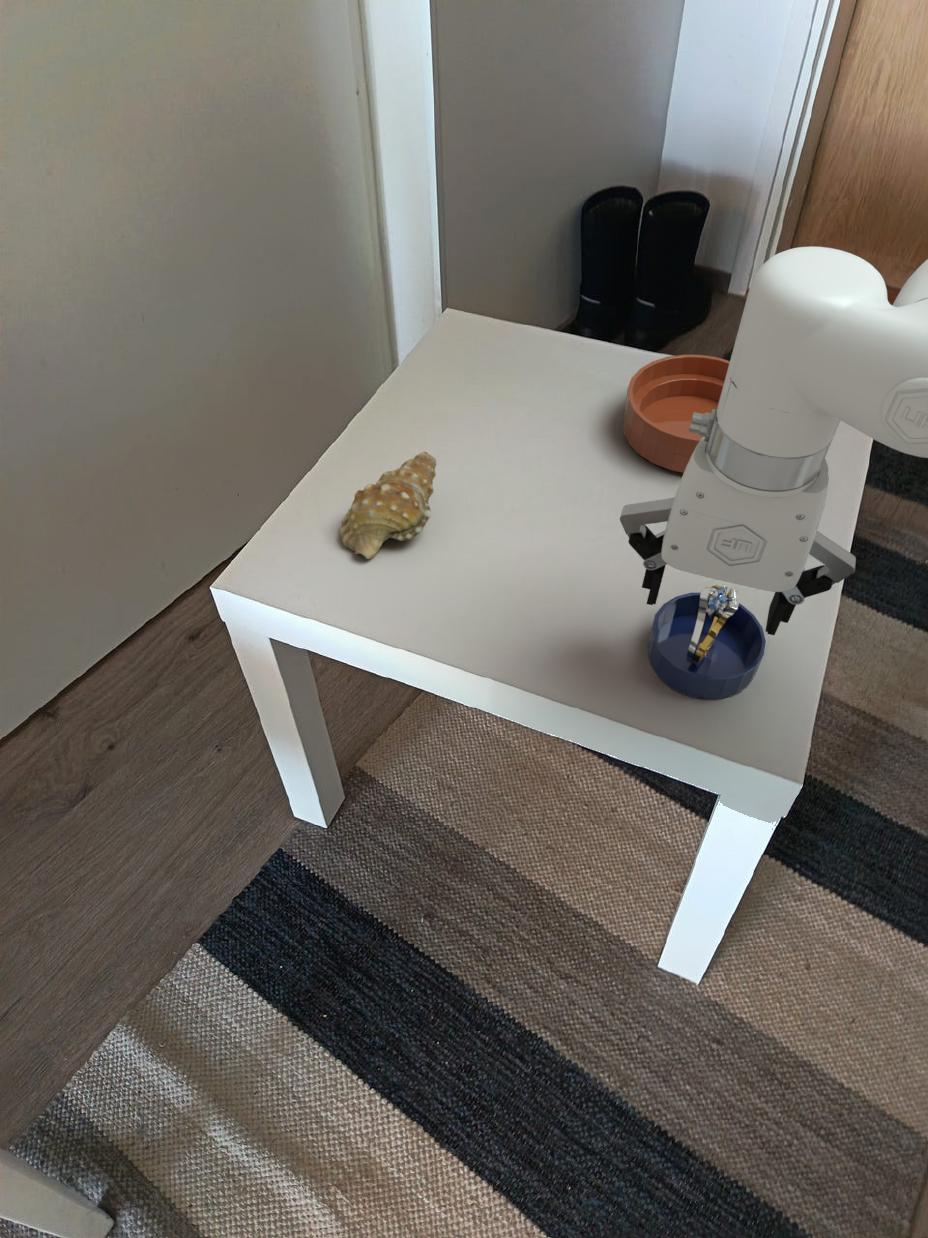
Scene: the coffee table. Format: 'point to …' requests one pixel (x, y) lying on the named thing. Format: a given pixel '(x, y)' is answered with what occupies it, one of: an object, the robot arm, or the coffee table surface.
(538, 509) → the coffee table surface
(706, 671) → the blue round dish
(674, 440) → the bowl
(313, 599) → the coffee table surface
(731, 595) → the ring
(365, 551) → the seashell
